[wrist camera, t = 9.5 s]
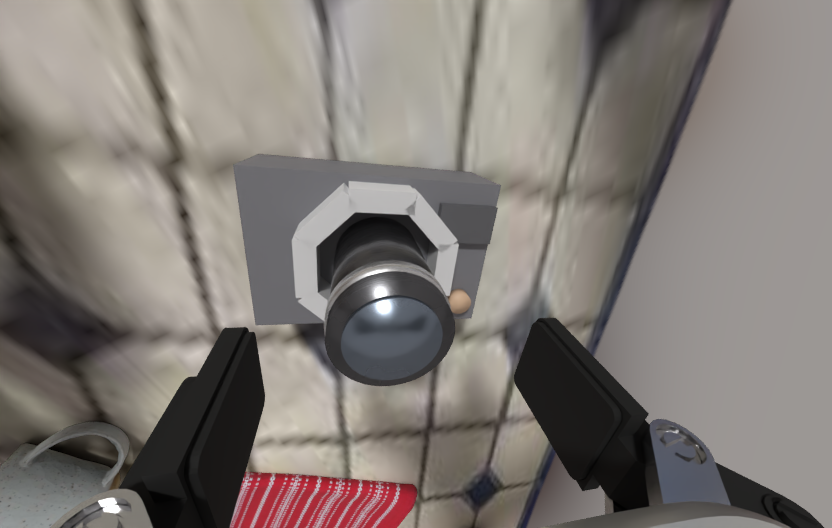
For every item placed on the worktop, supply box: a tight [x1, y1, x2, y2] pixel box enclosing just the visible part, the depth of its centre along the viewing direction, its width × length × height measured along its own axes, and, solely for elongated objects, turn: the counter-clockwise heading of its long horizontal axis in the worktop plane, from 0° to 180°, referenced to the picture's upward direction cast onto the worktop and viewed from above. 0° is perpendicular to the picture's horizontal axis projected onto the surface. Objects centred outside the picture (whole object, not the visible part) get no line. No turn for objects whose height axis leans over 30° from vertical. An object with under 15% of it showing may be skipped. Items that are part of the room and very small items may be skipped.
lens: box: [324, 217, 455, 386], centre depth 15 cm, size 5×5×8 cm
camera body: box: [233, 154, 501, 325], centre depth 20 cm, size 10×15×7 cm, turn 84°
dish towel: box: [230, 472, 417, 528], centre depth 38 cm, size 17×24×3 cm
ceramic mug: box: [0, 422, 129, 528], centre depth 24 cm, size 11×8×8 cm
